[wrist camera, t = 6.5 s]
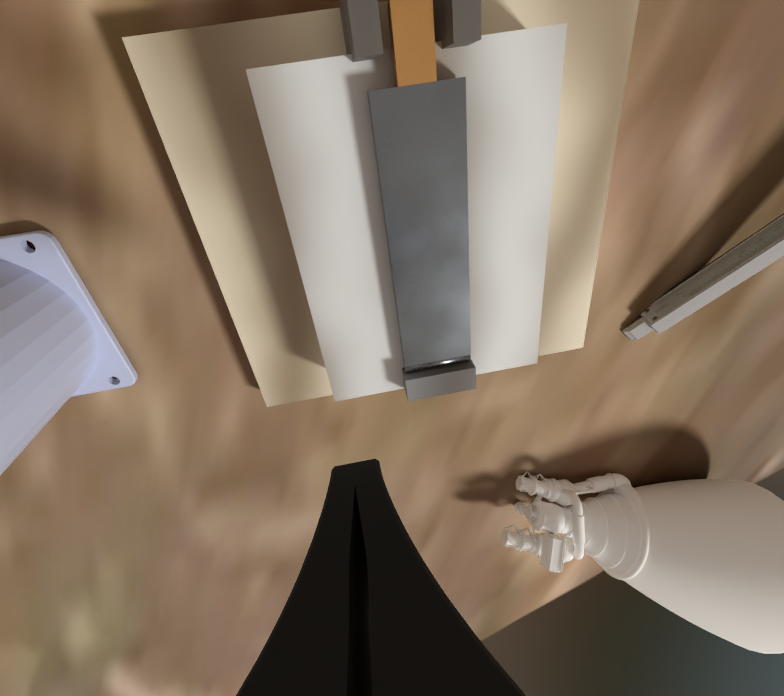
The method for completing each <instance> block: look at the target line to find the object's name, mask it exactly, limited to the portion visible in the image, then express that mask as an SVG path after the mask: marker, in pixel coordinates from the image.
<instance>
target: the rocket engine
mask: <svg viewBox="0 0 784 696" xmlns="http://www.w3.org/2000/svg"><path fill="white" fill-rule="evenodd" d="M526 473H527V472H526ZM526 473H525V474H526ZM528 473H529V472H528ZM525 474H524V475H525ZM529 474H530V473H529ZM529 474H528V476H529ZM524 475H522V476H520V475H519V476H518V478H517V480H516V490H520V492H521V491H522V490H524V491H523V492H526V491H527V492H528V494H529V495H531V496H532V495H534V494H535V493H537V496H536V497H535V499H534V501H533V502H532V503H531V504H530V505H529V506H527V505H525V504H524V503H523V502H517V503H516V504H515V506H514V508H515V511H516V512H518V513H521V514H525V515H526V518H527V519H528V520H529V522H530V524H531V525H532V526H533V534H532V533H530V532H531V531H530V530H529V528H528V527H527V528H526V529H524V530H526V531H527V529H528V531H530V532H529V534H530V535H525V533H526V531H525V533H524V532H523V531H524V530H520V529H519V530H517V529H518V528H517V527H516V526H515V524H513V525H512V527H513V526H515V528H516V530H517V533H516V532H511V531H510V530H511V528H512V527H511V526H509V527H511V528H510V529H508V531H507V528H509V527H507V528H506V527H505V529H504V530H503V532H502V537H501V540H502V544H503V545H505V546H506V547H510V546H508V545H513V546H514V547H511V548H515V547H516V548H515V549H517V550H518V551H522V550H524V549H523V548H527V550H525V551H529V552H532V553H534V554H536V555H538V556H539V555H540V556H539V557H540V564H541V565H542V566H544V567H545V568H546V569H547V570H549V571H553V572H557V573H559V572H560V573H561V572H562V570H563V563H564V562H566V561H570V560H572V559H573V557H574V558H576V559H582V557H583V555H584V553H585V554H586V555H588V556H590V557H593V559H594V560H595V561H596V562H597V563H598V564H599V565H600V566H601V567H602V568H603V569H604V570H605V571H606V572H607V573H608V574H609V575H611V576H612V577H614V578H616V579H619V580H624V581H625V582H626V583H628V584H629V585H631V586H632V587H634V588H635V589H637V590H639V591H640V592H641V593H643V594H644V595H646V596H648V597H649V598H651V599H652V600H654V601H655V602H657V603H659V604H660V605H662V606H663V607H665V608H667V609H668V610H670V611H672V612H674V613H675V614H677V615H679V616H680V617H682V618H684V619H686V620H688V621H689V622H691V623H693V624H695V625H697V626H699V627H701V628H703V629H705V630H707V631H709V632H711V633H713V634H715V635H717V636H719V637H721V638H723V639H726V640H728V641H730V642H732V643H734V644H736V645H739V646H741V647H744V648H746V649H748V650H752V651H756V652H760V653H764V654H774V653H784V501H782V500H781V499H780V498H778V497H777V496H776V495H774V494H773V493H771V492H770V491H768V490H766V489H764V488H762V487H760V486H758V485H756V484H754V483H750V482H746V481H742V480H734V479H693V480H681V481H672V482H664V483H657V484H651V485H645V486H640V487H635V488H633V487H632V486H631V483H630V481H629V480H628V479H627V478H626V477H625V476H623V475H621V474H617V473H614V474H611V473H607V474H606V475H604V476H596V477H592V478H588V479H586V481H583V482H579V483H574V484H572V483H571V482H569V481H568V480H566V479H562V480H556V479H554V478H551V479H547V478H546V479H542V477H543V476H542V475H541V474H538V475H536V476H538V477H539V475H540V476H542V477H541V479H542V481H540V480H537V478H538V477H537V478H536V476H531V475H530V476H529V478H526V477H524ZM543 478H544V477H543ZM596 492H600V493H599V494H598V495H597V496H596V497H595V498H592V497H590V498H587V499H585V500H584V501H583V502H582V501H580V499H579V497H578V495H579V494H585V493H596ZM543 497H544V498H547V500H549V501H550V502H557V503H558V504H560V505H561V506H566V507H560V506H558V505H556V504H553V503H548V502H543V501H541V499H542V498H543ZM568 505H572V506H568ZM536 530H543V531H547V532H549V533H541V534H538V533H536ZM551 532H552V533H551ZM557 532H559V533H563V534H564V535H565V536H566V537H569V538H570V539H571V540H572V542H573V543H574V544H575V549H574V546H573V544H572V543H571V542H570V541H569V540H567V539H566V538H565V537H562V536H557V535H555V534H554V533H557ZM531 534H532V535H531ZM507 544H508V545H507ZM561 566H562V568H561Z"/></svg>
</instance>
